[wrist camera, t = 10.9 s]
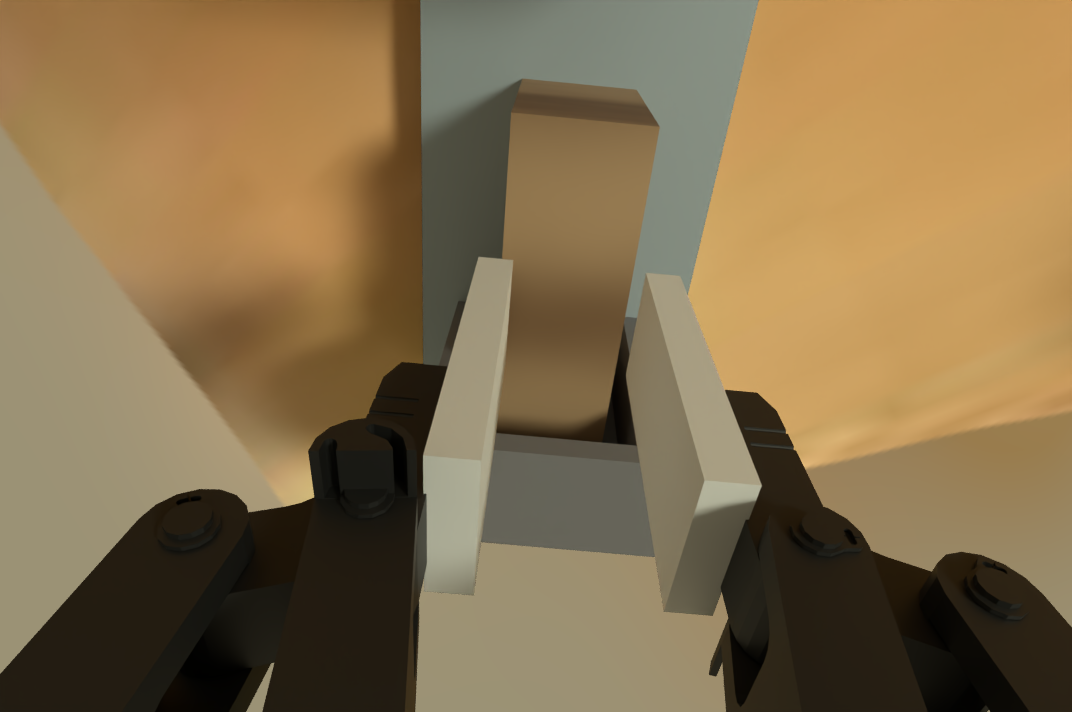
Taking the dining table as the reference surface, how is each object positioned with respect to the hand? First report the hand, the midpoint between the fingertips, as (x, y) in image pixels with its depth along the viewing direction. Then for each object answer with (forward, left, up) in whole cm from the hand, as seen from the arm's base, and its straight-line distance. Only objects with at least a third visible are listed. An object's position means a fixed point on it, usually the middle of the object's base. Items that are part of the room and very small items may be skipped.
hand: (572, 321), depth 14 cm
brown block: (+3, 0, -11) cm, 11 cm away
